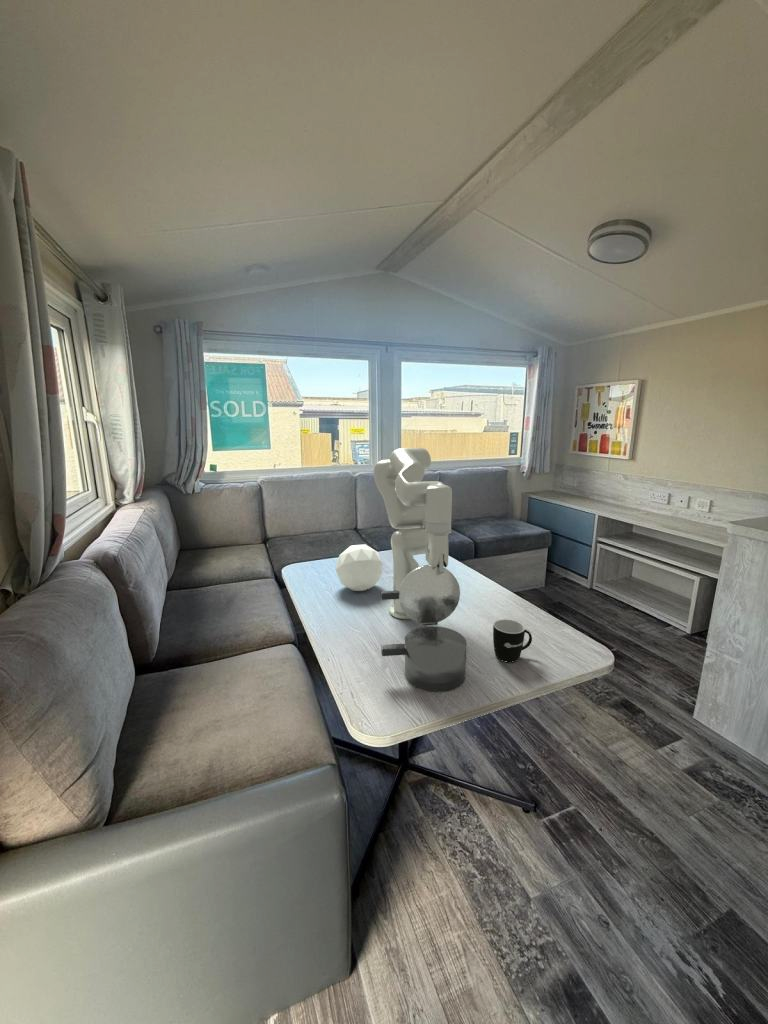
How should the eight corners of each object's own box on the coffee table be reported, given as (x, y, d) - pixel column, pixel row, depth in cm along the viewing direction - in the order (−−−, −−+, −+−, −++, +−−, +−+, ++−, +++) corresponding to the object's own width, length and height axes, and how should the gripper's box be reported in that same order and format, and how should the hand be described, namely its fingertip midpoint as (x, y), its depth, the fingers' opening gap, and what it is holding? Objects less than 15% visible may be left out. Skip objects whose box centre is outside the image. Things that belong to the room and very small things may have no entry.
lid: (382, 628, 123) (381, 624, 126) (459, 624, 126) (456, 620, 128) (382, 567, 119) (381, 564, 122) (461, 564, 122) (458, 562, 124)
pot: (378, 659, 126) (378, 628, 123) (456, 655, 128) (457, 624, 126) (384, 696, 109) (384, 661, 107) (473, 690, 112) (475, 655, 109)
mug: (499, 666, 122) (501, 634, 120) (486, 650, 131) (488, 620, 128) (537, 662, 124) (540, 631, 122) (523, 647, 133) (525, 617, 130)
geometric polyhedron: (355, 608, 175) (331, 580, 163) (346, 576, 191) (324, 548, 179) (395, 586, 174) (374, 556, 162) (383, 556, 190) (363, 526, 178)
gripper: (420, 522, 131) (419, 578, 134) (431, 534, 116) (430, 596, 120) (444, 521, 131) (443, 577, 135) (457, 533, 117) (455, 595, 120)
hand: (436, 586), depth 127 cm, fingers closed
